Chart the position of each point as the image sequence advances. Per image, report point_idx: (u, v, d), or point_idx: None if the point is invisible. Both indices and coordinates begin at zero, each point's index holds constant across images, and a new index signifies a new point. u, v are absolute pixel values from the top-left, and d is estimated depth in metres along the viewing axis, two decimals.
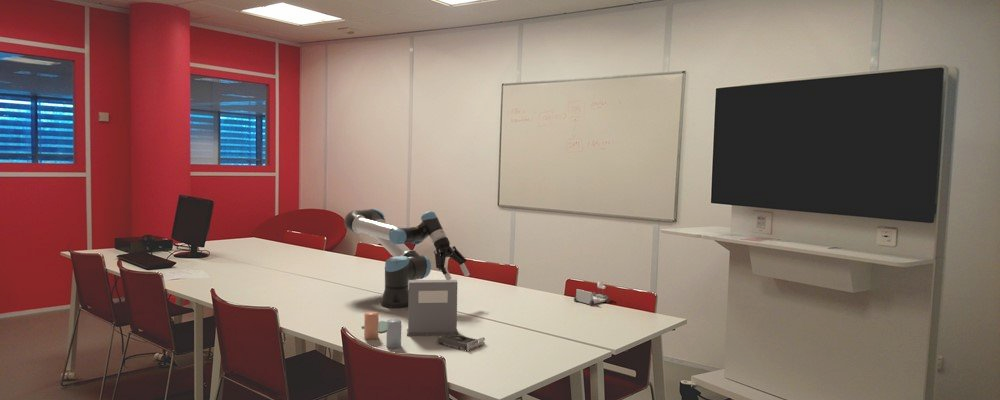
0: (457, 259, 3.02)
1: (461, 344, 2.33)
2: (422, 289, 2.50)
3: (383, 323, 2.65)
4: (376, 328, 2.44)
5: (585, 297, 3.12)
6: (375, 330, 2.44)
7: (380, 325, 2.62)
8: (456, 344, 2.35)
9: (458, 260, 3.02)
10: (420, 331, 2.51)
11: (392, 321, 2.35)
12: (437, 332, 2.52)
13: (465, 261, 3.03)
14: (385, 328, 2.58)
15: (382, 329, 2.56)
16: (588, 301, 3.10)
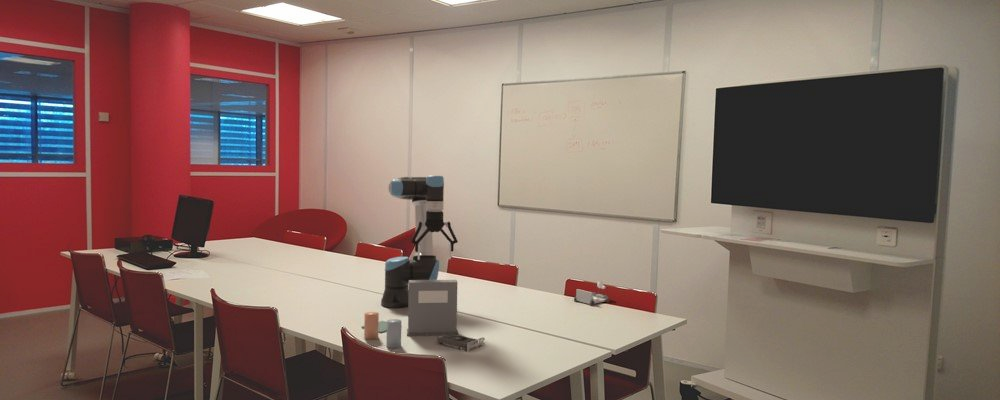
0: (446, 237, 2.67)
1: (461, 344, 2.33)
2: (422, 289, 2.50)
3: (383, 323, 2.65)
4: (376, 328, 2.44)
5: (585, 297, 3.12)
6: (375, 330, 2.44)
7: (380, 325, 2.62)
8: (456, 344, 2.35)
9: None
10: (420, 331, 2.51)
11: (392, 321, 2.35)
12: (437, 332, 2.52)
13: (453, 243, 2.66)
14: (385, 328, 2.58)
15: (382, 329, 2.56)
16: (588, 301, 3.10)
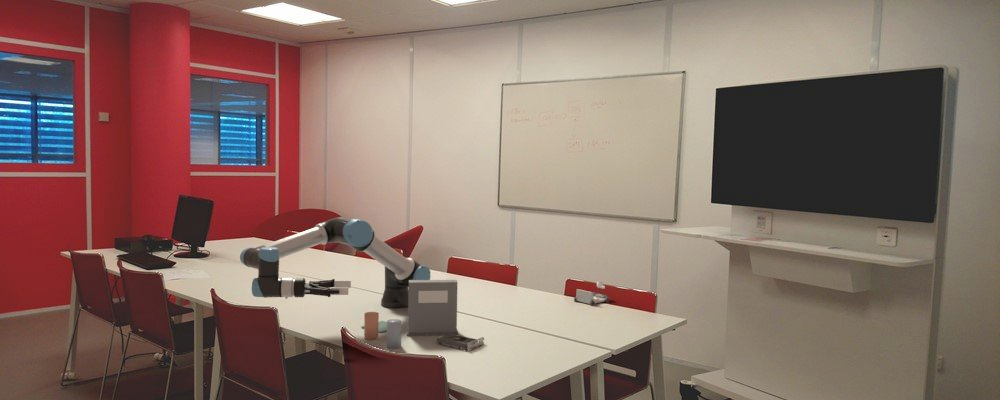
0: None
1: (461, 344, 2.33)
2: (422, 289, 2.50)
3: (383, 323, 2.65)
4: (376, 328, 2.44)
5: (586, 297, 3.12)
6: (375, 330, 2.44)
7: (380, 325, 2.62)
8: (456, 344, 2.35)
9: None
10: (420, 331, 2.51)
11: (392, 321, 2.35)
12: (437, 332, 2.52)
13: (329, 296, 2.34)
14: (385, 328, 2.58)
15: (382, 329, 2.56)
16: (589, 301, 3.11)
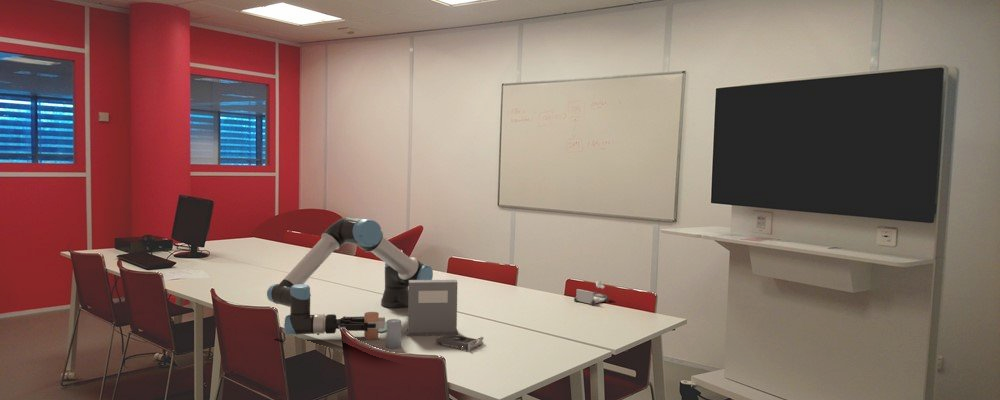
0: None
1: (462, 344, 2.34)
2: (422, 289, 2.50)
3: None
4: None
5: (586, 297, 3.12)
6: (375, 330, 2.44)
7: None
8: (456, 344, 2.35)
9: None
10: (420, 331, 2.51)
11: (392, 321, 2.35)
12: (437, 332, 2.52)
13: (366, 330, 2.41)
14: (385, 328, 2.58)
15: (382, 329, 2.56)
16: (589, 301, 3.11)
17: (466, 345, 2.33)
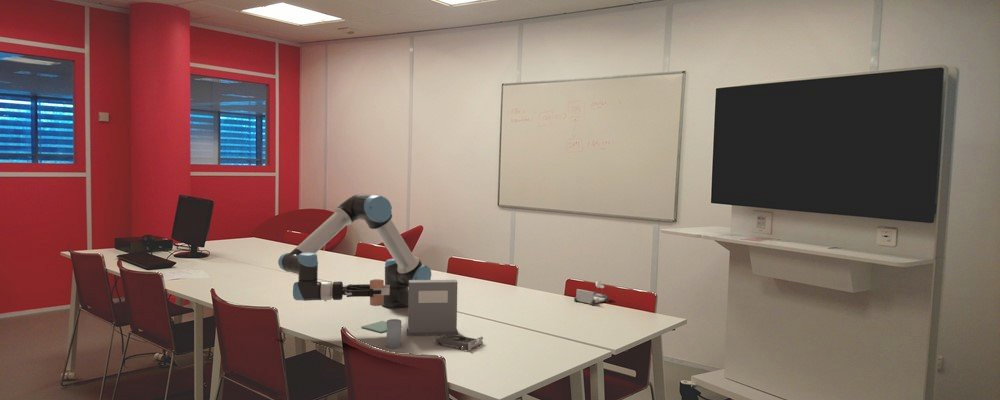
0: None
1: (462, 344, 2.34)
2: (422, 289, 2.50)
3: (383, 323, 2.65)
4: (381, 295, 2.53)
5: (586, 296, 3.12)
6: (380, 296, 2.52)
7: (380, 325, 2.62)
8: (456, 344, 2.35)
9: None
10: (420, 331, 2.51)
11: (392, 321, 2.35)
12: (437, 332, 2.52)
13: (372, 296, 2.50)
14: (385, 328, 2.58)
15: (382, 329, 2.56)
16: (589, 301, 3.11)
17: (466, 345, 2.33)
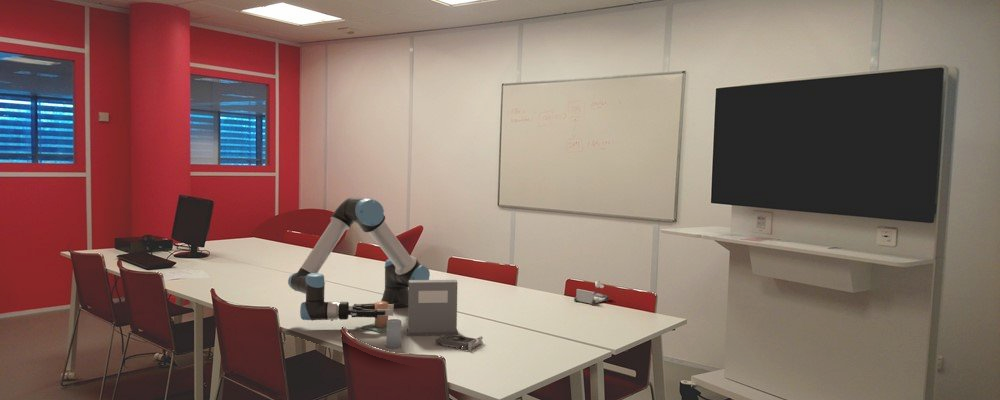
0: None
1: (462, 344, 2.34)
2: (422, 289, 2.50)
3: None
4: (386, 317, 2.60)
5: (586, 296, 3.12)
6: (385, 318, 2.59)
7: None
8: (456, 344, 2.34)
9: None
10: (420, 331, 2.51)
11: (392, 321, 2.35)
12: (437, 332, 2.52)
13: (376, 317, 2.55)
14: (385, 328, 2.58)
15: (382, 329, 2.56)
16: (589, 301, 3.11)
17: (466, 345, 2.33)
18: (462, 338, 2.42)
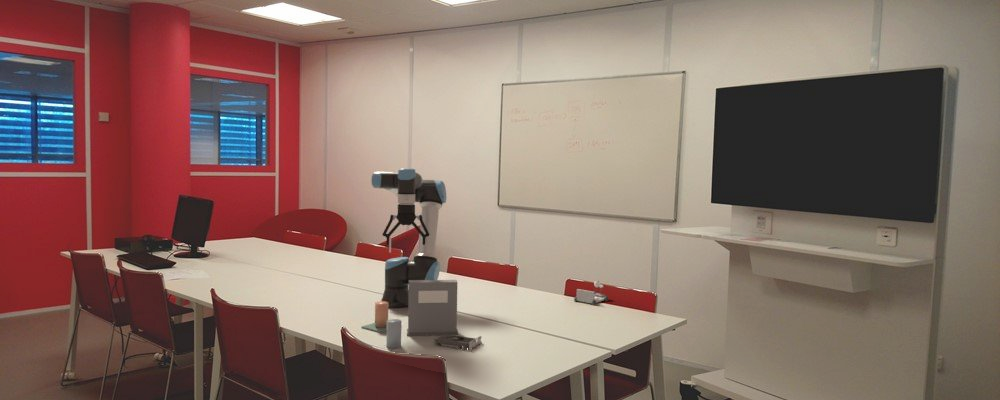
0: None
1: (462, 344, 2.34)
2: (422, 289, 2.50)
3: None
4: (386, 317, 2.59)
5: (587, 296, 3.13)
6: (385, 319, 2.59)
7: None
8: (457, 344, 2.34)
9: None
10: (420, 331, 2.51)
11: (392, 321, 2.35)
12: (437, 332, 2.52)
13: (424, 237, 2.65)
14: (385, 328, 2.58)
15: (382, 329, 2.56)
16: (590, 300, 3.12)
17: (467, 345, 2.33)
18: (461, 338, 2.43)
